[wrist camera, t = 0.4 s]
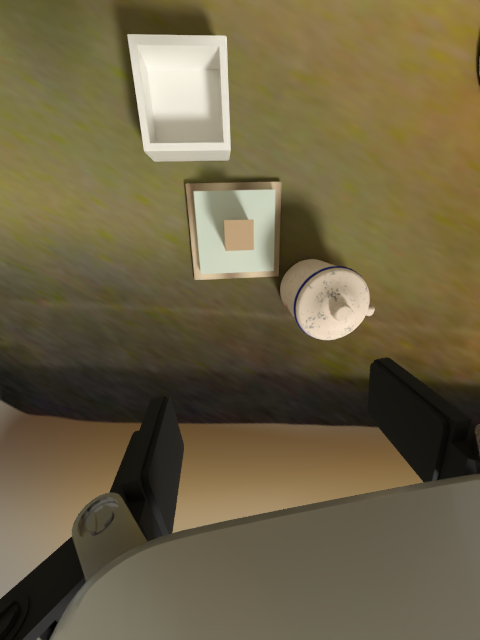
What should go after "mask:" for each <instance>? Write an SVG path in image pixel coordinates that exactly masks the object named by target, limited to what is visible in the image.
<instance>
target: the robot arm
mask: <svg viewBox="0 0 480 640" xmlns="http://www.w3.org/2000/svg"><path fill="white" fill-rule="evenodd" d="M479 75H480V58H479ZM367 409H368V414H369V416H370V417H371V419H372V420H373V421H374V422H375V423H376V425H377V426H378V427H379V428H380V430H381V431H382V432H383V433H384V434H385V436H386V437H387V438H388V439H389V441H391V443H392V444H393V445H394V446H395V448H396V449H397V450H398V451H399V453H400V454H401V455H402V456H403V458H404V459H405V460H406V461H407V462H408V464H409V465H410V466H411V467H412V468H413V470H414V471H415V472H416V473H417V475H418V476H419V477H420V478H421V479H422V480H423V482H424V483H419V484H414V485H409V486H404V487H397V488H392V489H387V490H382V491H376V492H371V493H366V494H361V495H355V496H350V497H345V498H339V499H334V500H329V501H324V502H319V503H314V504H308V505H303V506H298V507H293V508H288V509H283V510H278V511H273V512H268V513H263V514H258V515H253V516H248V517H243V518H238V519H233V520H228V521H224V522H219V523H214V524H210V525H205V526H201V527H196V528H192V529H187V530H183V531H179V532H175V533H172V531H173V524H174V517H175V510H176V503H177V495H178V488H179V481H180V473H181V467H182V459H183V451H184V444H183V440H182V436H181V433H180V429H179V426H178V422H177V419H176V415H175V412H174V408H173V405H172V401H171V399H170V398H167V397H166V396H165V395H163V396H157V397H152V398H151V400H150V403H149V406H148V409H147V411H146V414H145V417H144V419H143V422H142V425H141V428H140V430H139V431H135V432H134V433H133V435H132V437H131V440H130V442H129V445H128V447H127V450H126V452H125V455H124V458H123V460H122V462H121V465H120V467H119V470H118V472H117V475H116V477H115V480H114V483H113V485H112V488H111V490H110V492H109V493H105V494H102V495H100V496H98V497H96V498H95V499H93V500H92V501H91V502H89V503H88V504H87V505H86V506H85V507H84V508H83V509H82V510H81V512H80V513H79V514H78V516H77V518H76V520H75V522H74V524H73V528H72V537H71V538H70V539H68V540H67V541H66V542H65V543H64V544H63V545H62V546H60V547H59V548H58V549H57V550H56V551H55V552H54V553H52V554H51V555H50V556H49V557H48V558H47V559H46V560H45V561H43V562H42V563H41V564H40V565H39V566H38V567H36V568H35V569H34V570H33V571H32V572H31V573H30V574H28V575H27V576H26V577H25V578H24V579H23V580H22V581H20V582H19V583H18V584H17V585H16V586H15V587H14V588H12V589H11V590H10V591H9V592H8V593H7V594H6V595H4V596H3V597H2V598H1V599H0V640H480V425H478V426H477V427H476V426H474V425H473V424H472V423H471V420H472V419H470V418H469V417H468V416H466V415H465V414H464V413H462V412H461V411H460V410H458V409H457V408H456V407H454V406H453V405H452V404H450V403H449V402H448V401H446V400H445V399H444V398H442V397H441V396H440V395H438V394H437V393H436V392H434V391H433V390H432V389H430V388H429V387H428V386H426V385H425V384H424V383H422V382H421V381H420V380H418V379H417V378H416V377H414V376H413V375H412V374H410V373H409V372H408V371H406V370H405V369H403V368H402V367H401V366H399V365H398V364H397V363H395V362H394V361H393V360H391V359H390V358H381V359H376V360H374V362H373V363H372V364H371V366H370V379H369V394H368V408H367Z"/></svg>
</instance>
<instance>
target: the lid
mask: <svg viewBox="0 0 480 640" xmlns="http://www.w3.org/2000/svg"><path fill="white" fill-rule="evenodd" d="M194 202H195V214H196V225H197V237H198V248H199V260H200V271H201V274H216V273H239V272H262V271H274V236H275V189H274V190H230V191H194Z"/></svg>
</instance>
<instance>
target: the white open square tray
mask: <svg viewBox="0 0 480 640" xmlns="http://www.w3.org/2000/svg"><path fill="white" fill-rule="evenodd" d="M127 36H128V43H129V50H130V57H131V64H132V71H133V78H134V85H135V92H136V99H137V105H138V112H139V119H140V126H141V133H142V140H143V147H144V152H145V153H146V154H147V155H148V156H149V157H150V158H151V159H153V160H154V161H155V162H157V161H225V160H229V157H230V151H231V147H230V120H229V92H228V64H227V37H226V36H202V35H146V34H127Z"/></svg>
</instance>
